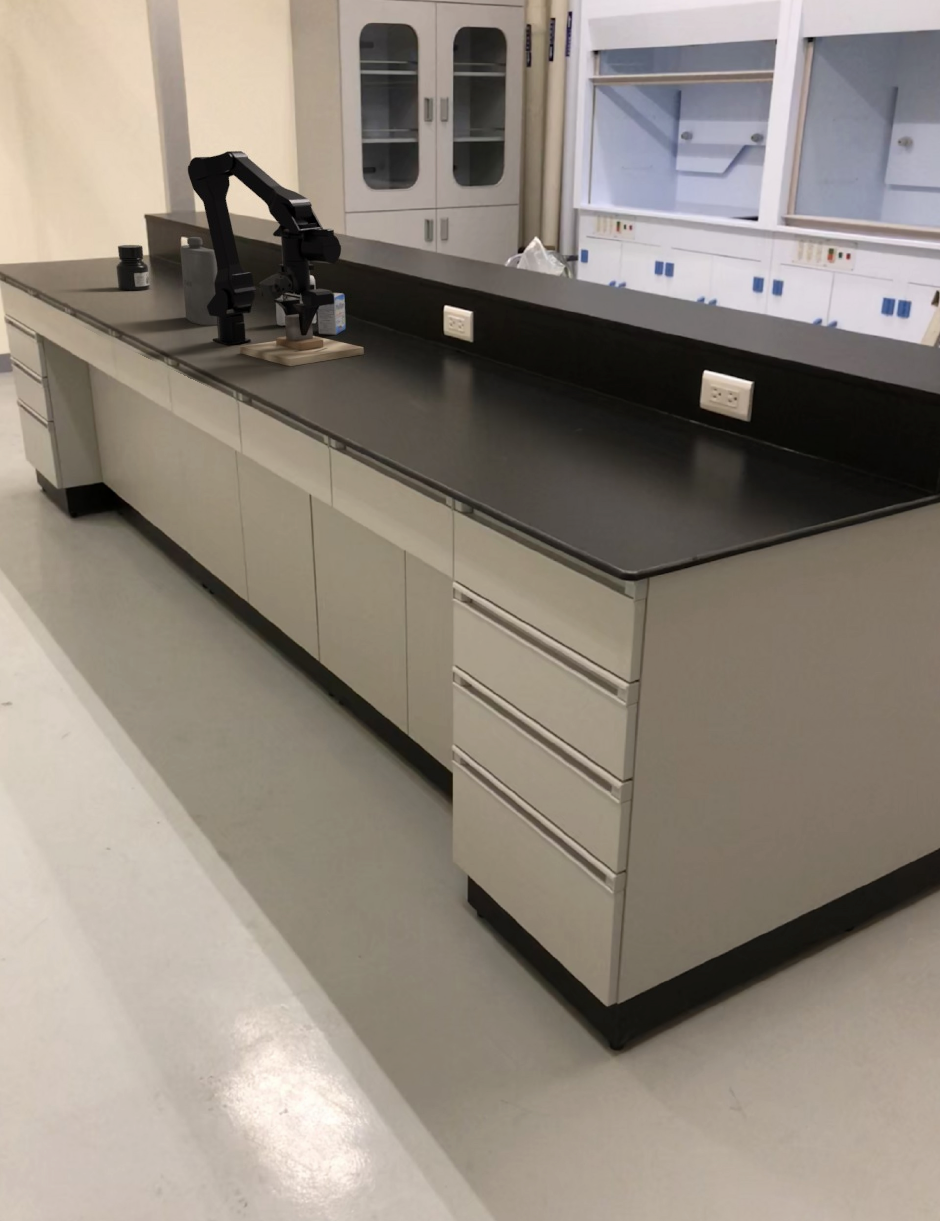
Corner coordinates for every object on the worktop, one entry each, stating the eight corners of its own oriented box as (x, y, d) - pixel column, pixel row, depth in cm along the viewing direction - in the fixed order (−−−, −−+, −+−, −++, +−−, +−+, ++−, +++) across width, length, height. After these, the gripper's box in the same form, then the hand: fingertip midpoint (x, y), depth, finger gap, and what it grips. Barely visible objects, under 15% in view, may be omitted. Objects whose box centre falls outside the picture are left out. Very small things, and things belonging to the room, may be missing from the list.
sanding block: (276, 344, 245) (274, 314, 242) (298, 341, 248) (296, 311, 246) (301, 350, 239) (299, 319, 236) (323, 346, 243) (322, 316, 240)
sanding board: (240, 353, 243) (239, 346, 242) (313, 342, 256) (312, 335, 255) (290, 366, 231) (289, 358, 231) (363, 354, 245) (363, 347, 244)
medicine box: (335, 335, 265) (334, 297, 262) (318, 334, 266) (316, 296, 262) (345, 329, 272) (344, 293, 269) (328, 328, 273) (327, 292, 269)
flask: (180, 317, 283) (173, 234, 275) (202, 315, 286) (196, 234, 278) (200, 326, 272) (194, 240, 264) (223, 324, 275) (217, 239, 266)
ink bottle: (144, 291, 322) (140, 248, 317) (114, 290, 322) (109, 247, 317) (153, 286, 331) (149, 244, 326) (124, 286, 331) (119, 243, 326)
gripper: (238, 258, 237) (243, 332, 243) (291, 266, 225) (295, 344, 231) (281, 254, 244) (284, 326, 251) (334, 262, 232) (337, 338, 239)
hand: (299, 334), depth 243 cm, fingers closed on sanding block, 3 cm apart
